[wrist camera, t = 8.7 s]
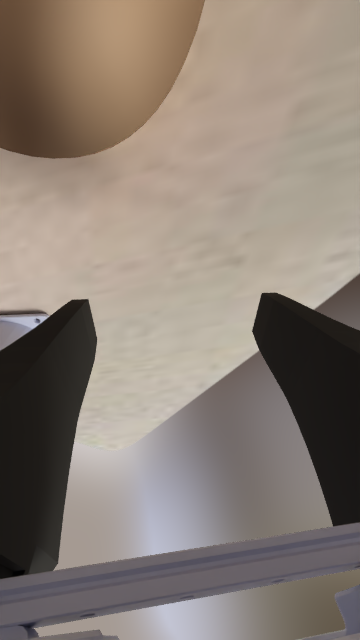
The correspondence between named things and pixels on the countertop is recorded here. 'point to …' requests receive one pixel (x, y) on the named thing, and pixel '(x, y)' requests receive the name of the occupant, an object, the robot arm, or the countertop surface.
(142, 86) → the lid
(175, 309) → the countertop surface
